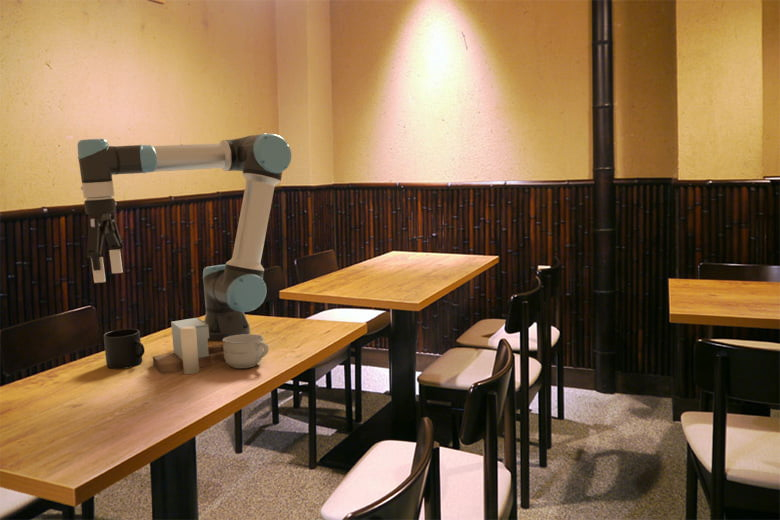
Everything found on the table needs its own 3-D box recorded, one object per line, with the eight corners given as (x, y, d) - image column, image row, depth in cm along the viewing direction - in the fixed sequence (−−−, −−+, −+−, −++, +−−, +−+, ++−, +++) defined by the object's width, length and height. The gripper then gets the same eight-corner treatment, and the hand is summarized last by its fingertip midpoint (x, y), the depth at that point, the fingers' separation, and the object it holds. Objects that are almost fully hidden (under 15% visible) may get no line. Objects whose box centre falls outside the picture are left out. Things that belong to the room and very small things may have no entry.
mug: (133, 371, 182) (130, 338, 181) (99, 367, 186) (95, 336, 185) (157, 361, 191) (154, 330, 190) (123, 358, 195) (120, 327, 194)
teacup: (216, 366, 183) (214, 338, 182) (249, 357, 191) (247, 330, 190) (246, 376, 174) (244, 346, 173) (280, 366, 182) (278, 337, 181)
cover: (200, 347, 193) (197, 317, 192) (210, 355, 185) (208, 324, 184) (173, 352, 190) (171, 321, 188) (183, 360, 181) (180, 328, 180)
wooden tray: (222, 352, 197) (220, 332, 196) (233, 360, 189) (231, 339, 188) (153, 365, 187) (151, 344, 186) (162, 374, 179) (160, 352, 178)
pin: (197, 368, 182) (193, 325, 181) (201, 372, 179) (197, 328, 177) (182, 371, 180) (178, 328, 179) (186, 375, 177) (182, 330, 175)
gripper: (101, 196, 189) (110, 270, 193) (65, 202, 165) (76, 287, 168) (128, 194, 190) (137, 268, 193) (96, 201, 165) (107, 285, 169)
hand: (109, 277), depth 181 cm, fingers open, 13 cm apart
